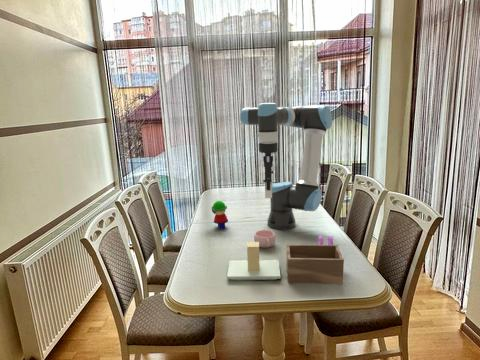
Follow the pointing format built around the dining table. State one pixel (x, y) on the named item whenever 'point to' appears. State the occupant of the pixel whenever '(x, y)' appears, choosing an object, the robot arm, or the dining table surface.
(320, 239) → the bracket
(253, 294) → the dining table surface
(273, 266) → the lid
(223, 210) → the toy
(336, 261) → the box
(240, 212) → the dining table surface
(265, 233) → the mug
